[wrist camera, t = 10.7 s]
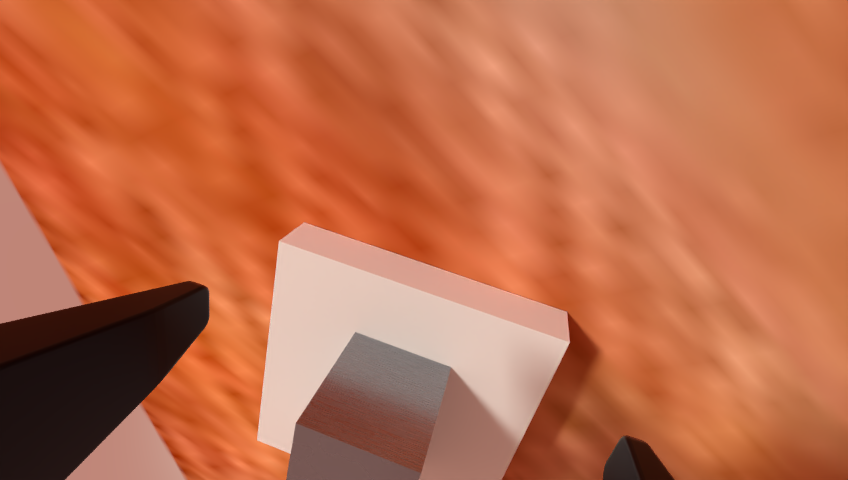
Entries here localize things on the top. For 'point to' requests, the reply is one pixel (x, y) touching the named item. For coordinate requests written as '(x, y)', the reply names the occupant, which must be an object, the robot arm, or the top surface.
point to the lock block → (369, 416)
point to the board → (410, 345)
